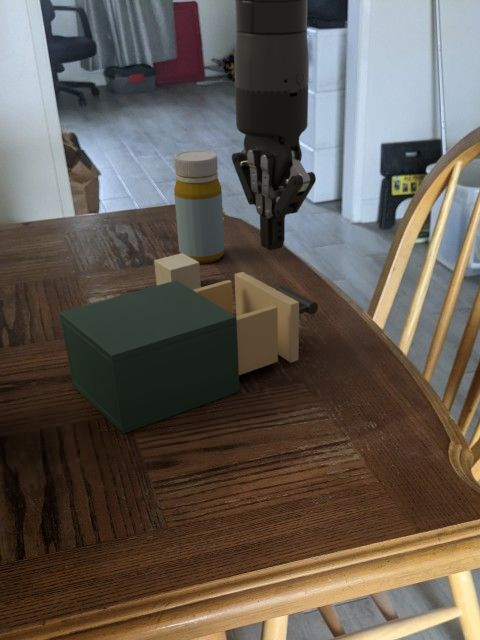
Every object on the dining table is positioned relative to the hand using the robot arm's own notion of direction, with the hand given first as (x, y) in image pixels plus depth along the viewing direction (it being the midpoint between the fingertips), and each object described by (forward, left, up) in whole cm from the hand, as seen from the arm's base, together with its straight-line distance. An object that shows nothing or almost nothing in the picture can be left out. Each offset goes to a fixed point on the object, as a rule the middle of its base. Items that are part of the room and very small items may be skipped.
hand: (272, 247), depth 90 cm
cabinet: (-17, -1, -12) cm, 21 cm away
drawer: (-5, -1, -11) cm, 13 cm away
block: (-1, +21, -12) cm, 24 cm away
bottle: (+9, +31, -13) cm, 35 cm away
